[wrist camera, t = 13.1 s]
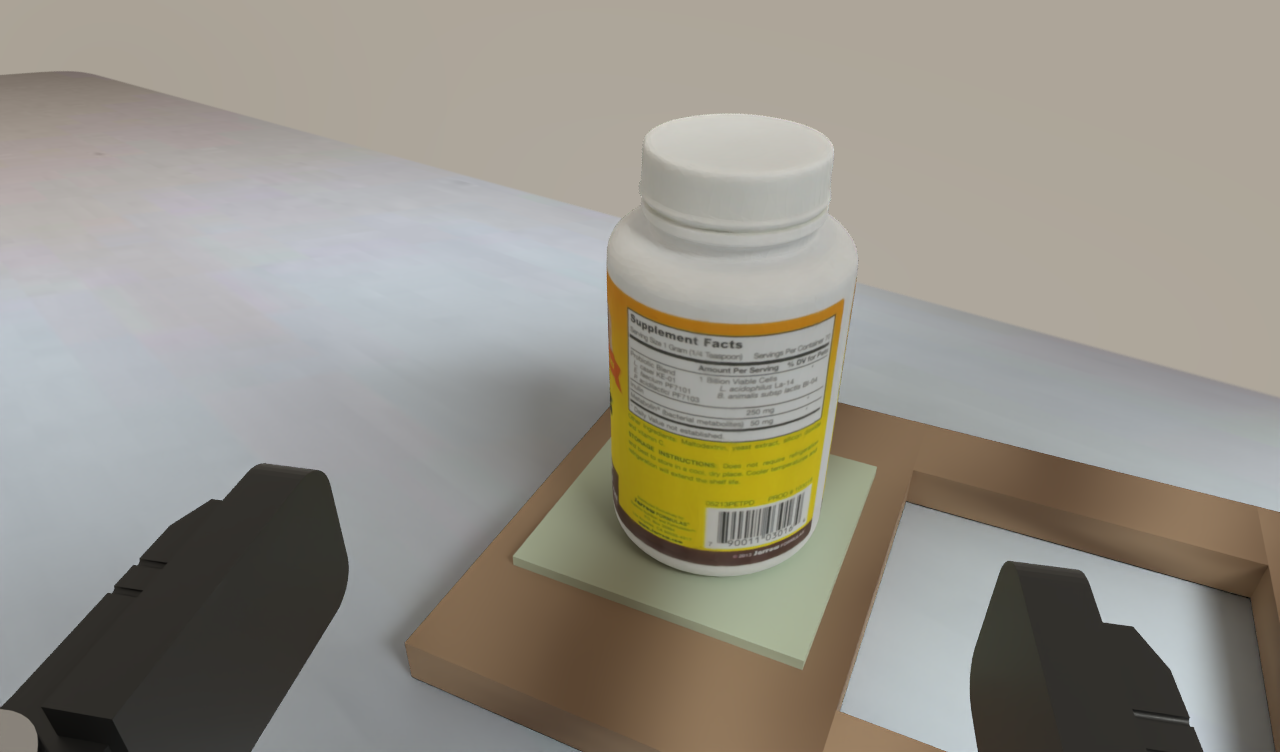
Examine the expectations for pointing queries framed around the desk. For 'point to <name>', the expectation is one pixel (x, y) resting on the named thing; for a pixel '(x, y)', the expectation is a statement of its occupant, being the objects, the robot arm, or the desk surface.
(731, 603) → the puzzle board
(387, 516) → the desk surface
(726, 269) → the supplement bottle
